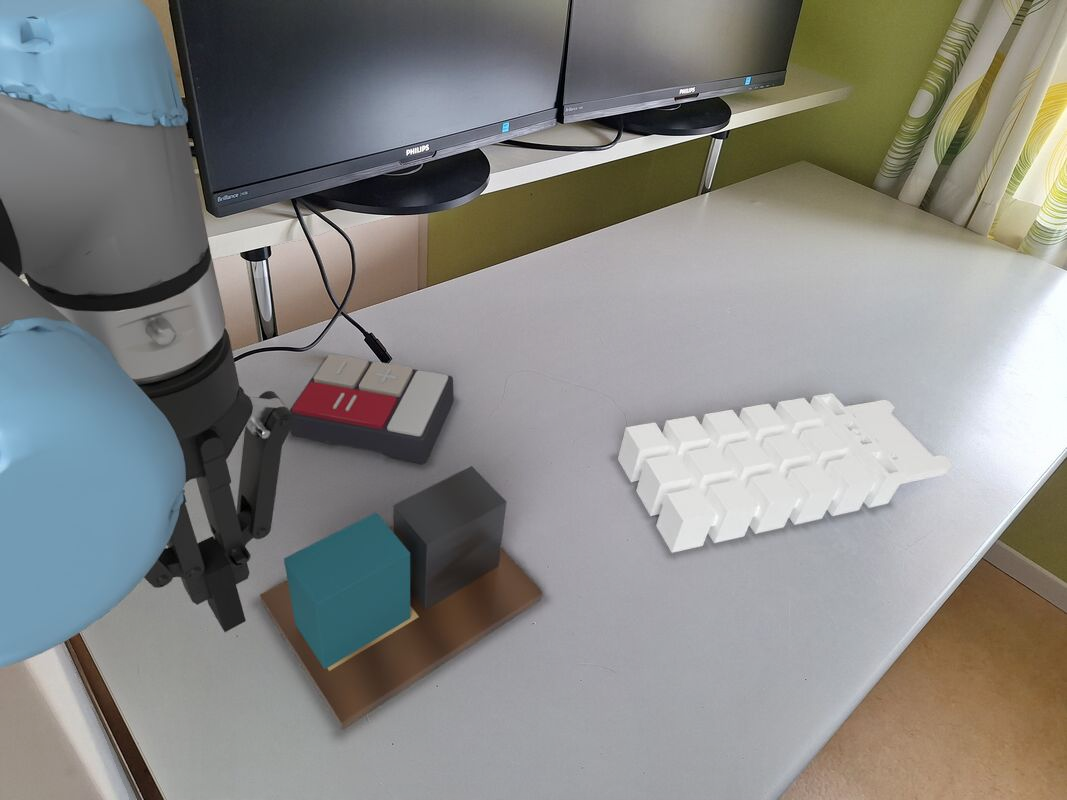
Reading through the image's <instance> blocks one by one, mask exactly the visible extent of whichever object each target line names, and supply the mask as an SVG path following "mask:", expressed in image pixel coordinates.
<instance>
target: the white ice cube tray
mask: <svg viewBox="0 0 1067 800" xmlns="http://www.w3.org/2000/svg"><path fill="white" fill-rule="evenodd" d="M894 410H895V406H894V404H892V402H890V401H889V400H887V399H880V400H875V401H870V402H863V403H858V404H851V405H846V406H845V405H844V404H843V403H842V402H841V401H840V400H839V399H838V398H837V397H836V396H835V394H833V392H829V393H825V394H819V395H813V396H812V398H811V400H810V402H809V401H808V400H806V398H805V397H799V398H793V399H787V400H782V401H778V402H777V404H776V407H775V409H774V408H773V406H772V405H771V404H770V403H765V404H764V403H763V404H757V405H752V406H746V407H742V408H741V410H740V413H739V416H738V415H737V413H736V412H735V411H734V410H733V409H728V410H722V411H716V412H710V413H704V415H703V419H702V422H701V423H700V421H699V420H698V418H697V417H696V416H695V415H691V416H685V417H680V418H673V419H668V420H665V423H664V427H663V430H662V431H661V429H660V427H659V425H658V424H657V423H656V422H650V423H644V424H638V425H631V426H626V427H625V428H624V433H623V438H622V441H621V445H620V449H619V453H618V456H617V461H618V463H619V464H620V466H621V467H622V469H623V471H624V473H625V475H626V476H627V478H628V480H629V482H630V483H633V482H638V483H637V486H636V490H635V492H636V494H637V496H638V497H639V499H640V501H641V502H642V504H643V506H644V507H645V509H646V511H647V513H648V514H649V516H650V517H652V516H656V515H658V519H657V521H656V524H655V527H656V528H657V530H658V532H659V534H660V536H661V537H662V540H663V541H664V542H665V544H666V546H667V547H668V549H669V551H670V553H671V554H673V553H678V552H682V551H686V550H687V551H688V550H691V549H695V548H701V547H703V546H704V544H705V541H706V539H707V537H708V536H709V537H710V539H711V540H712V543H713V544H718V543H722V542H727V541H730V540H734V539H739V538H743V537H745V536H746V533H747V531H748V528H749V527H750V529H751V530H752V532H753V533H754V535H755V534H756V535H757V534H761V533H765V532H769V531H774V530H779V529H783V528H785V526H786V524H787V521H788V520H790V521H791V522H792V524H793V525H794V526H795V525H801V524H805V523H808V522H809V523H810V522H813V521H818V520H822V519H823V518H824V517H825V514H826V512H828V513H829V514H830V516H831V517H835V516H839V515H844V514H848V513H853V512H857V511H860V509H861V507H862V506H863V504H865V506H866V507H867V508H868V509H870V508H875V507H880V506H884V505H887V504H889V503H890V502H891V500H892V498H893V496H895V495H894V494H895V493H896V492H897V490H898V488H899V487H900V485H905V484H909V483H913V482H917V481H923V480H928V479H931V478H935V477H940V476H944V475H946V474H947V473H948V471H949V470H950V468H951V467H952V463H951V461H950V460H949V459H948V458H947V457H946V456H944V455H933V454H932V453H931V452H930V451H929V450H928V449H927V448H926V447H925V446H924V445H923V444H922V443H921V442H920V441H919V440H918V438H916V437H915V436H914V435H913V434H912V433H911V432H910V431H909V430H908V429H907V428H906V427H905V426H904V425H903V424H902V423H901V422H900V421H899V420H898V419H897V417H895V416H894V414H892V413H893V412H894Z"/></svg>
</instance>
